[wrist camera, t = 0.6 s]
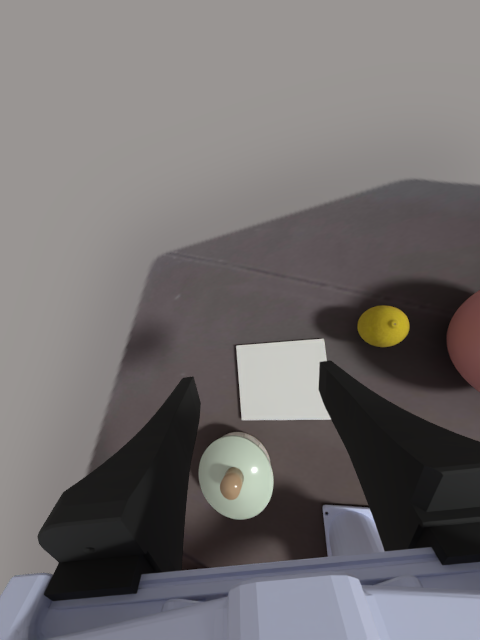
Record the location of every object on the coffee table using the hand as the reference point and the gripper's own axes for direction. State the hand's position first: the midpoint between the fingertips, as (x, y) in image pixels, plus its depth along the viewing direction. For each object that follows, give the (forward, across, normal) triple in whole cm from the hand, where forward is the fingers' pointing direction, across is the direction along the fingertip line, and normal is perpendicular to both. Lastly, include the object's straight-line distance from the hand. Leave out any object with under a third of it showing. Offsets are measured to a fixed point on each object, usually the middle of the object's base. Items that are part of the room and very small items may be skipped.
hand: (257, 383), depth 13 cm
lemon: (+20, -18, +10) cm, 29 cm away
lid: (+10, +5, +26) cm, 28 cm away
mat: (+18, -4, +16) cm, 25 cm away
